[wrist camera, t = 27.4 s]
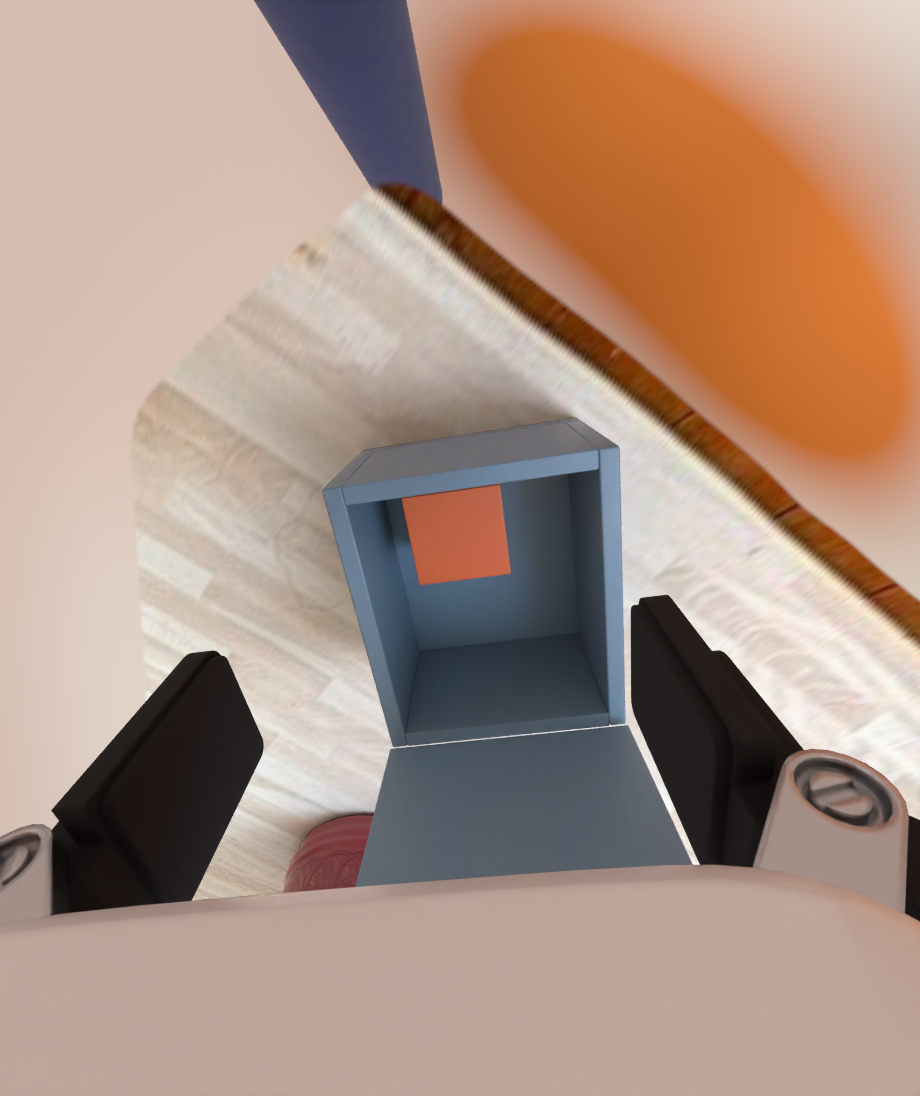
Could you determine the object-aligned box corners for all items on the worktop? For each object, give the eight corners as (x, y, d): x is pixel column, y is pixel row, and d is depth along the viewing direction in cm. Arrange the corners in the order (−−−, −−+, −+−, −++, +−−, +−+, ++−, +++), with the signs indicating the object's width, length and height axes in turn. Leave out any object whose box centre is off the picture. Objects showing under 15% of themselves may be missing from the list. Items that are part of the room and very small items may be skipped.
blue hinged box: (362, 449, 26) (321, 489, 19) (577, 417, 25) (620, 446, 18) (410, 655, 31) (392, 747, 24) (589, 634, 30) (626, 724, 23)
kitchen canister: (429, 799, 36) (396, 1168, 20) (465, 903, 41) (461, 1267, 25) (271, 821, 37) (118, 1183, 21) (323, 919, 42) (232, 1274, 26)
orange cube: (427, 549, 27) (419, 586, 23) (412, 473, 25) (400, 498, 21) (504, 539, 27) (511, 574, 23) (495, 461, 25) (499, 483, 21)
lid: (262, 1245, 10) (325, 1366, 11) (866, 1236, 9) (842, 1370, 10) (390, 748, 23) (409, 834, 25) (628, 724, 22) (633, 815, 24)
